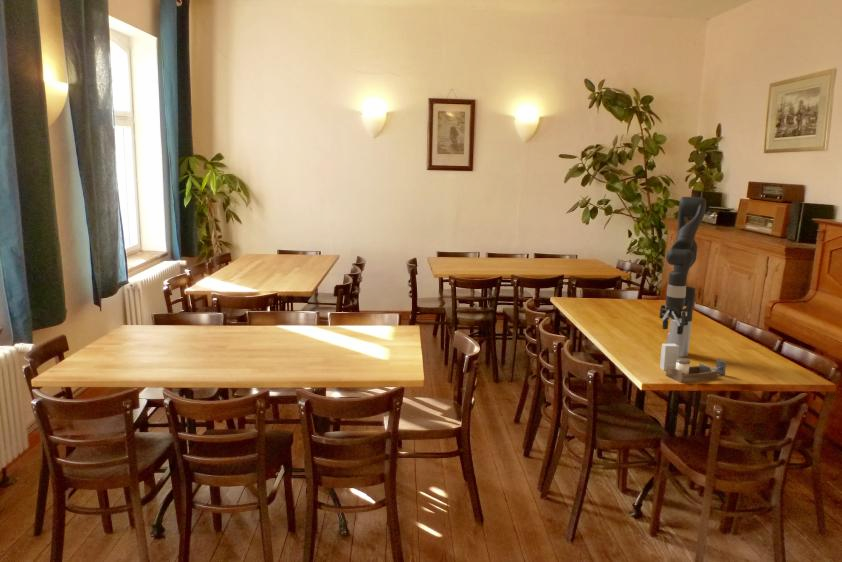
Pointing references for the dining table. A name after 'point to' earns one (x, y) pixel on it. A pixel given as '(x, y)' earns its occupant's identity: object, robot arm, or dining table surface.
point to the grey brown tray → (690, 374)
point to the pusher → (719, 367)
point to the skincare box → (669, 356)
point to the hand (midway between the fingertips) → (672, 331)
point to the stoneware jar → (683, 365)
